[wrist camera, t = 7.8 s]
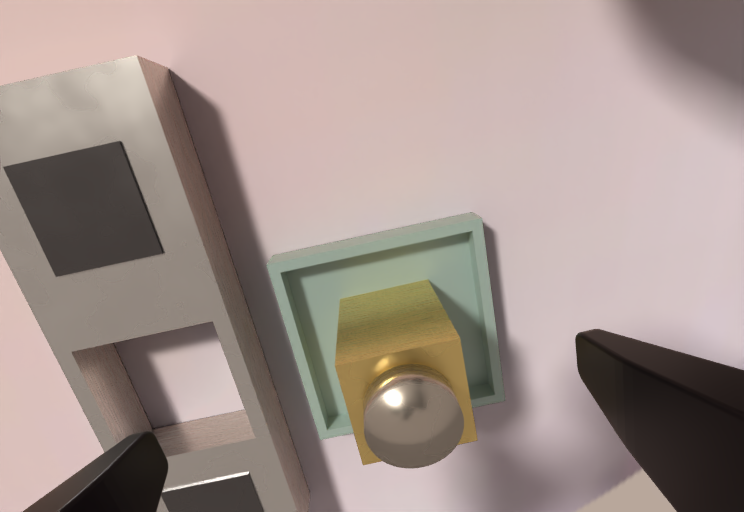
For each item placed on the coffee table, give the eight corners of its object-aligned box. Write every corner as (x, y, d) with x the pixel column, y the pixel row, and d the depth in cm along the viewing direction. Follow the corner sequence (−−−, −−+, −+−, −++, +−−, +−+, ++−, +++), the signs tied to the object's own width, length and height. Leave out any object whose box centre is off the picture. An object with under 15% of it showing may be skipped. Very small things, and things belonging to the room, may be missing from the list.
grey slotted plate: (167, 67, 16) (135, 54, 14) (310, 494, 23) (305, 536, 21) (-14, 108, 17) (-79, 102, 14) (181, 521, 23) (161, 566, 21)
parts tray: (471, 212, 19) (481, 217, 17) (495, 383, 22) (505, 401, 20) (272, 255, 19) (266, 264, 18) (322, 420, 22) (320, 439, 20)
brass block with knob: (427, 279, 19) (470, 356, 12) (442, 356, 21) (488, 465, 14) (339, 299, 19) (333, 386, 12) (359, 375, 21) (363, 492, 14)
